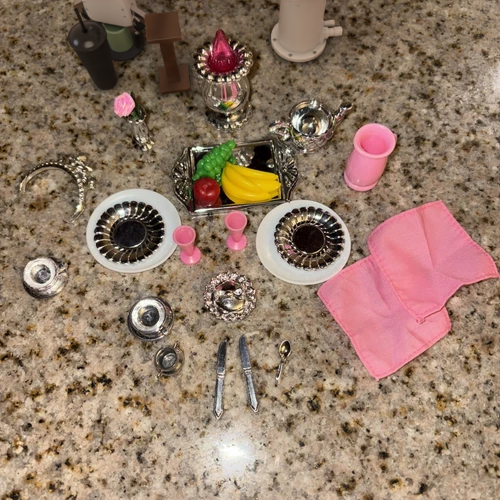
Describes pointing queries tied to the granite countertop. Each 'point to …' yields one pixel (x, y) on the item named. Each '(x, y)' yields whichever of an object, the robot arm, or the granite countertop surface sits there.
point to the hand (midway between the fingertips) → (121, 39)
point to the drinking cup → (93, 51)
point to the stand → (167, 50)
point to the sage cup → (118, 37)
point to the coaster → (126, 53)
